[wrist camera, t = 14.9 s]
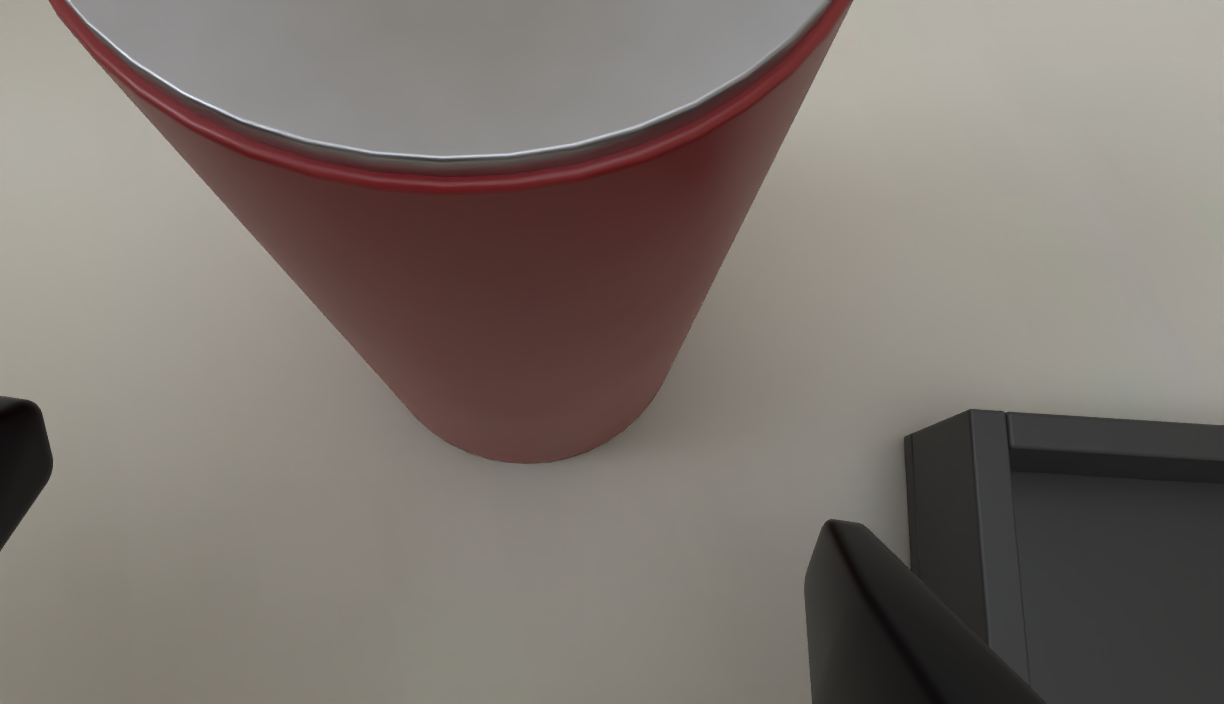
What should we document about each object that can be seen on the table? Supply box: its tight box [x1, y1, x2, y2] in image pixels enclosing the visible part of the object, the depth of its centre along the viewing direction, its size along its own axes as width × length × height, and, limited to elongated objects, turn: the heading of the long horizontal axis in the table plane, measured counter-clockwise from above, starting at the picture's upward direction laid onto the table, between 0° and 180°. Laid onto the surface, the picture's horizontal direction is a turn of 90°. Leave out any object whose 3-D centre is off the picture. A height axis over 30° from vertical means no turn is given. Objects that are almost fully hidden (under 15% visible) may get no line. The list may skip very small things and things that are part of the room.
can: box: [49, 0, 853, 463], centre depth 12 cm, size 7×7×12 cm
